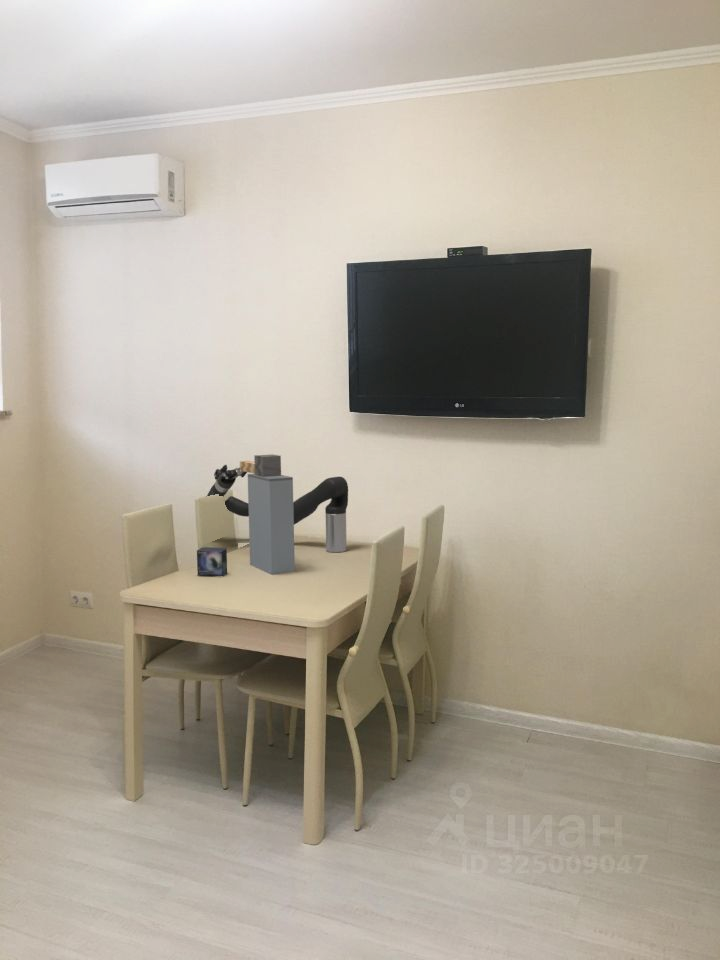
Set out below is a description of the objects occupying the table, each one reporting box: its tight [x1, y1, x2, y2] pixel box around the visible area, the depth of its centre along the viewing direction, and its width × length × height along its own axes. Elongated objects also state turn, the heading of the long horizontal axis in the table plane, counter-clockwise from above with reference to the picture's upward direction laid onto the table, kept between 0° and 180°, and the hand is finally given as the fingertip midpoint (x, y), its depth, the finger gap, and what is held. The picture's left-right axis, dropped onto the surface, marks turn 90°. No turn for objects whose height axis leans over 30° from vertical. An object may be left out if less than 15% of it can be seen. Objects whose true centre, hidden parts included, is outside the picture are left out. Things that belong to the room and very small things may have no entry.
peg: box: [239, 453, 282, 477], centre depth 339 cm, size 29×8×8 cm, turn 30°
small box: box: [196, 546, 228, 577], centre depth 322 cm, size 11×6×10 cm, turn 80°
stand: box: [247, 473, 296, 576], centre depth 331 cm, size 22×10×38 cm, turn 30°
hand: (235, 465), depth 359 cm, fingers open, 8 cm apart
